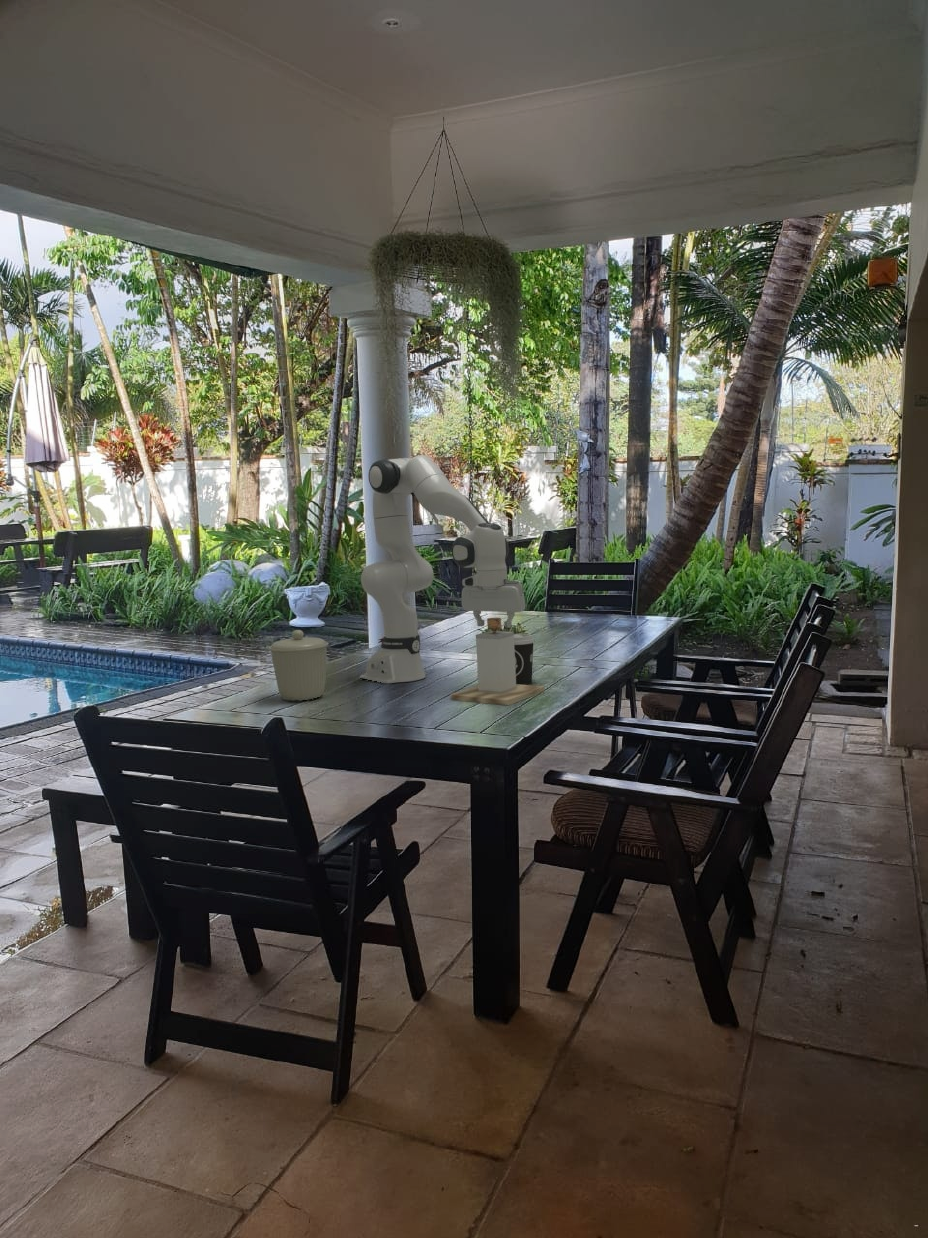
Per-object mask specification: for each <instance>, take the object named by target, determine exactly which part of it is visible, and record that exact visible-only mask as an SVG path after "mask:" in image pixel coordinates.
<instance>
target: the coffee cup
mask: <svg viewBox="0 0 928 1238" xmlns="http://www.w3.org/2000/svg"><path fill="white" fill-rule="evenodd" d="M535 641H536V640H535V638H534V637H533V635H532V633H514V650H515V671H516V684H521V685H527V684H528V685H531V684H532V683H533V665H534V664H533V663H534V661H533V658H534V644H535Z"/></svg>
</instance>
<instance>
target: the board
mask: <svg viewBox="0 0 928 1238" xmlns="http://www.w3.org/2000/svg"><path fill="white" fill-rule="evenodd" d="M544 692H545V686H544V685H543V686H542V685H531V684H528V685H521V684H516V689H515V690H512V691H509V692H507V693H504V694H493V693H482V692H479V689H478V684H477V685H475V686H471V687H469V688H466V689H464V690H460V691H457V692H454V693H450V695H449V698H450V701H457V702H458V701H460V702H470V703H477V704H478V703H479V704H491V705H499V706H511V705H514V704H515V703H518V702H520V701H524V700H526V699H528V698H531V697H533V696H536V695H539V694H542V693H544Z"/></svg>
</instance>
